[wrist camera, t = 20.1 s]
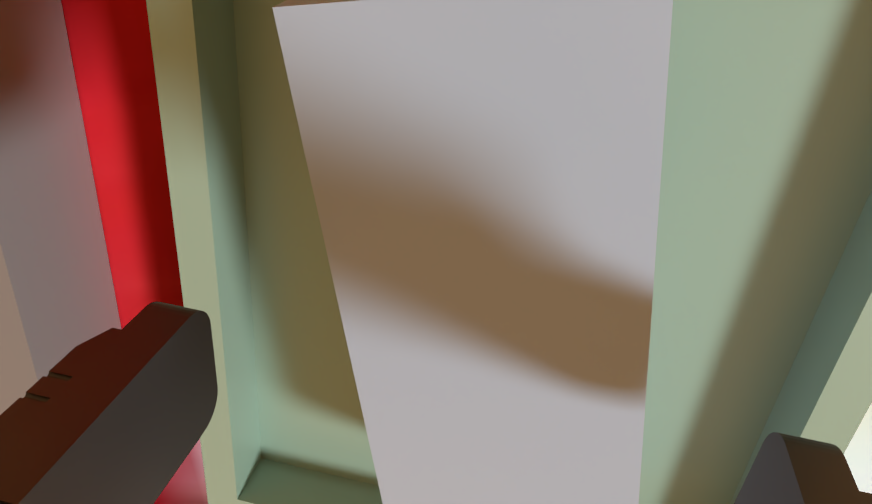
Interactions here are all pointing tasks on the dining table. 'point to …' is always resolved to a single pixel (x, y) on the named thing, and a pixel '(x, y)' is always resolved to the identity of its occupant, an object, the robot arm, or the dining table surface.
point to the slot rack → (45, 204)
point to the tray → (674, 263)
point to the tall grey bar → (489, 233)
